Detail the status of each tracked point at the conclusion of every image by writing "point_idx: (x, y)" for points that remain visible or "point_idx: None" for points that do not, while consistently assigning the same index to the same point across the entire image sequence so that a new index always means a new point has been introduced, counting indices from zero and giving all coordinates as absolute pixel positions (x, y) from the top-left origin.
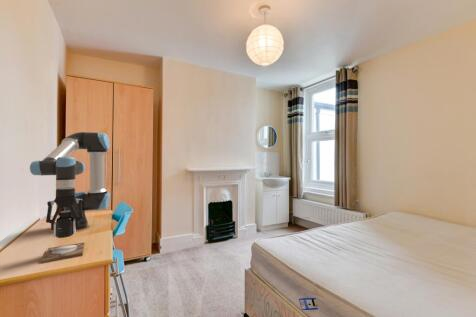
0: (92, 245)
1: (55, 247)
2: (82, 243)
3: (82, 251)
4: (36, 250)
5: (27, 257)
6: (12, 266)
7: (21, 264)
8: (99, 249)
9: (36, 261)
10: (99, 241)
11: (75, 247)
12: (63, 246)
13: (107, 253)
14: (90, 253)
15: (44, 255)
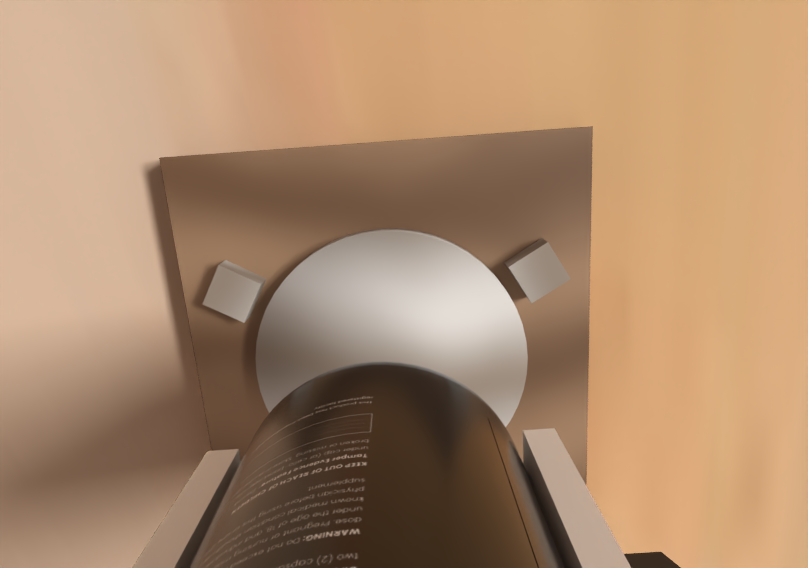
0: (678, 219)
1: (246, 177)
2: (569, 169)
3: (583, 479)
4: (17, 75)
5: (28, 301)
6: (5, 489)
7: (64, 476)
8: (743, 406)
9: (175, 462)
10: (775, 79)
11: (506, 372)
12: (353, 256)
13: (802, 554)
14: (649, 481)
15: (209, 420)
